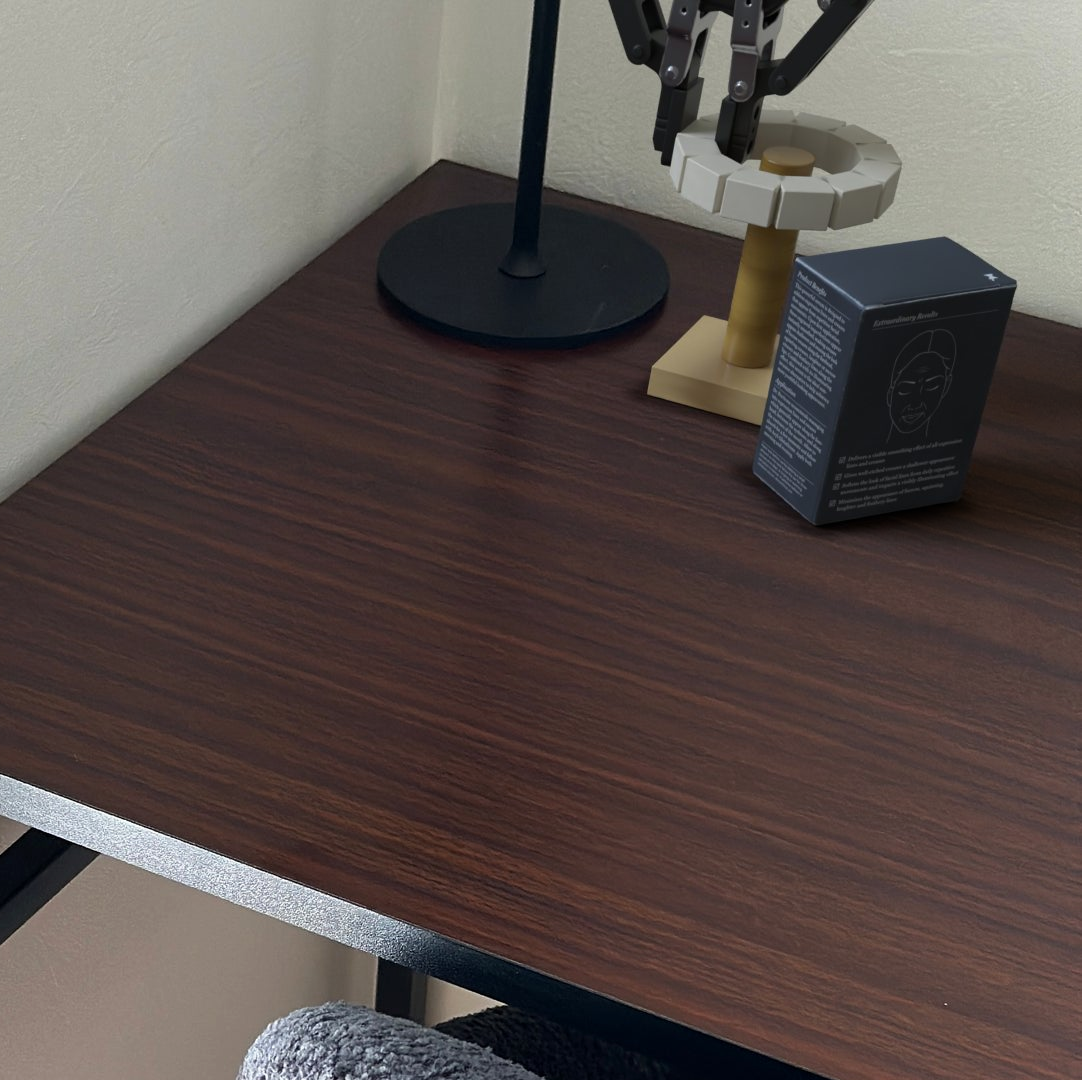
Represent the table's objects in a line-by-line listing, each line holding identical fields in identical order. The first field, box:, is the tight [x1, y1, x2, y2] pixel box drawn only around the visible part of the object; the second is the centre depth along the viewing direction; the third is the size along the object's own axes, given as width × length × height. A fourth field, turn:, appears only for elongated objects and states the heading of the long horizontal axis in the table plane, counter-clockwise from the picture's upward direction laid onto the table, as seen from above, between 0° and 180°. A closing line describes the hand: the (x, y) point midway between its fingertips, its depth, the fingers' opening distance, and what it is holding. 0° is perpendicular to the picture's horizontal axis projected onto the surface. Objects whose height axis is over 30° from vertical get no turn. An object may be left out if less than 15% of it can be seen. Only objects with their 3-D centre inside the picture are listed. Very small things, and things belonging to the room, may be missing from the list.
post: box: [646, 146, 815, 427], centre depth 112 cm, size 7×7×12 cm
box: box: [751, 235, 1018, 526], centre depth 105 cm, size 8×6×11 cm
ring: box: [669, 108, 903, 232], centre depth 109 cm, size 10×10×2 cm
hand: (698, 165), depth 111 cm, fingers closed on ring, 2 cm apart
